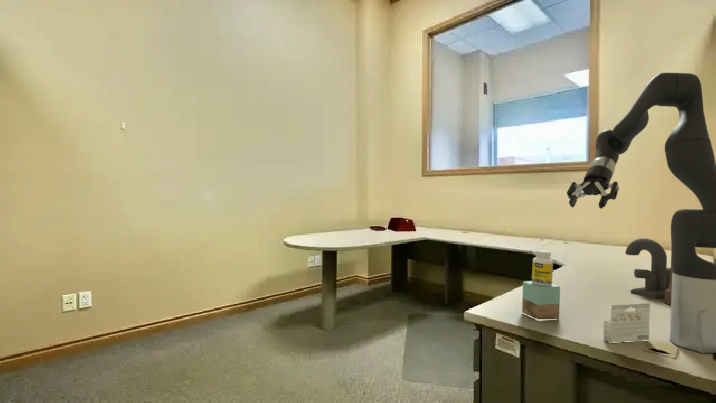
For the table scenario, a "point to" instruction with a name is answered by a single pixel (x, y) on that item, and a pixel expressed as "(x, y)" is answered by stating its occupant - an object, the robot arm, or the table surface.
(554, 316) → the tower bottom block
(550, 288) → the tower top block
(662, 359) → the table surface
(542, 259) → the supplement bottle
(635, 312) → the ink cartridge box
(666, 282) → the faucet
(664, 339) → the table surface
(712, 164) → the robot arm
